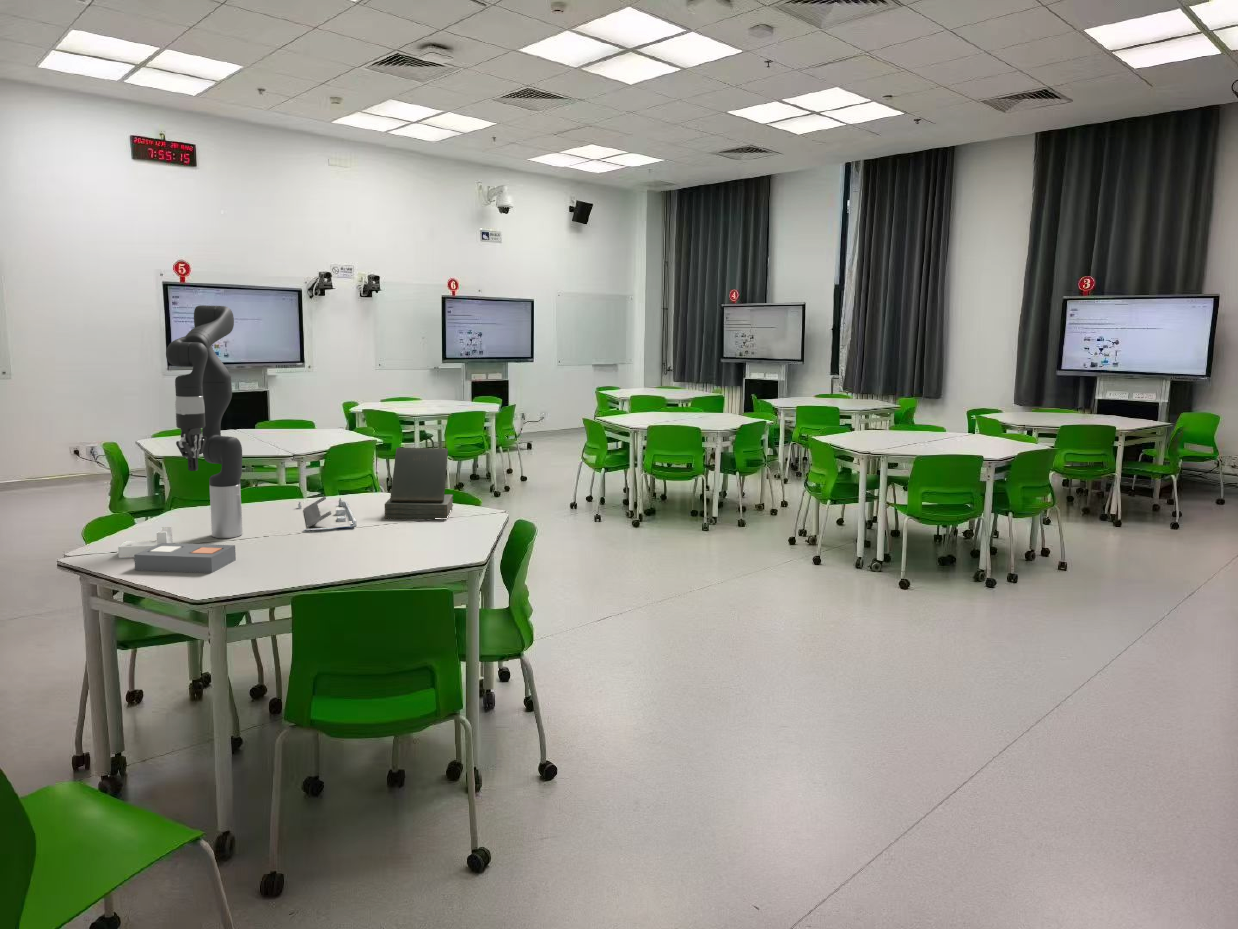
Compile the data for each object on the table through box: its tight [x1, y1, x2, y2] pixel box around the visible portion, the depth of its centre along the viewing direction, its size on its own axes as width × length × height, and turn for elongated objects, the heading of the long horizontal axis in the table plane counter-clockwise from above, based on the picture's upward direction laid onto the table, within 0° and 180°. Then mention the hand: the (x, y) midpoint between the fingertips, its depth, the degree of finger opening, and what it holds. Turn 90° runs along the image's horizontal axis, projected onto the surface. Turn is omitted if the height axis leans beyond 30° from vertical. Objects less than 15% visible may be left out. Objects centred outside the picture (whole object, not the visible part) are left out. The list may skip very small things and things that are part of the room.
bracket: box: [117, 526, 174, 559], centre depth 252 cm, size 13×7×8 cm, turn 106°
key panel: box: [133, 542, 237, 574], centre depth 242 cm, size 14×22×4 cm, turn 89°
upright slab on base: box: [384, 447, 454, 520], centre depth 317 cm, size 23×20×25 cm
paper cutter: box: [297, 496, 358, 531], centre depth 307 cm, size 18×45×6 cm, turn 23°
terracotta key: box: [191, 547, 222, 554], centre depth 241 cm, size 6×6×4 cm
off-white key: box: [149, 546, 182, 553], centre depth 242 cm, size 6×6×4 cm
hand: (193, 470), depth 244 cm, fingers closed
